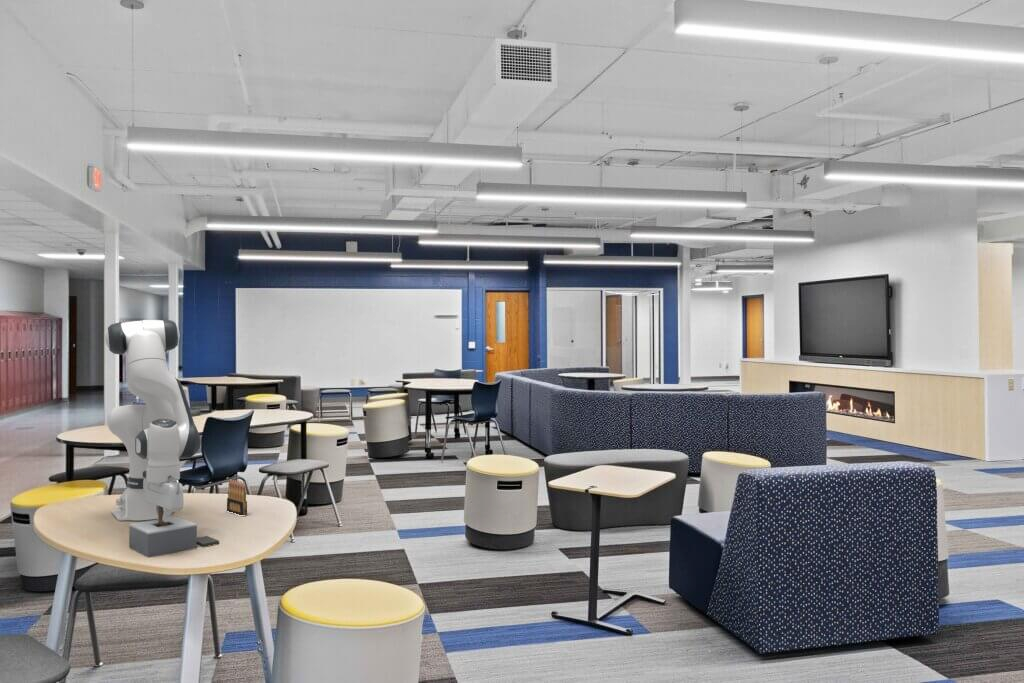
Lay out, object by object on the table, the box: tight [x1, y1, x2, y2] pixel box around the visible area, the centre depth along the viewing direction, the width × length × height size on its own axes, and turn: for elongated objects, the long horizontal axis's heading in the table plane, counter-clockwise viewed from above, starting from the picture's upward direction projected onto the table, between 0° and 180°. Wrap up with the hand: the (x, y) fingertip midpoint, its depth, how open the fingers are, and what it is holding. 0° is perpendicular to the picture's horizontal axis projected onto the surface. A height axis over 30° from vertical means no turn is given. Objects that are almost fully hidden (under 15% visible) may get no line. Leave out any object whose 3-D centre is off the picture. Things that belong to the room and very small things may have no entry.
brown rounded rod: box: [158, 506, 168, 527], centre depth 224 cm, size 3×3×10 cm
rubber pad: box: [196, 535, 220, 548], centre depth 229 cm, size 8×5×1 cm, turn 47°
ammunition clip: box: [226, 478, 248, 516], centre depth 267 cm, size 11×2×12 cm, turn 50°
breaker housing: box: [128, 516, 198, 558], centre depth 224 cm, size 14×14×7 cm
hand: (163, 520), depth 224 cm, fingers closed on brown rounded rod, 3 cm apart
